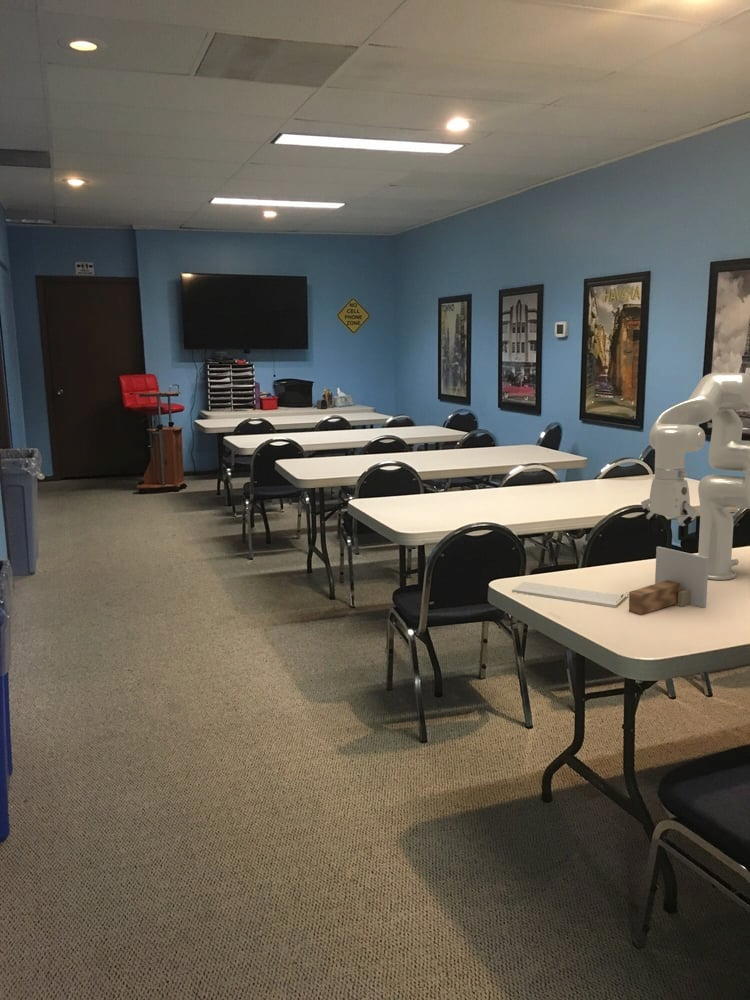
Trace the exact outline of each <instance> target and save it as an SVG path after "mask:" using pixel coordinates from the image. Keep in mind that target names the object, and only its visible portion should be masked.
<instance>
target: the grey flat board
mask: <svg viewBox="0 0 750 1000" xmlns="http://www.w3.org/2000/svg"><path fill="white" fill-rule="evenodd" d="M514 592H517V593H516V594H520V593H523V594H522V595H527V594H528V596H533V595H534V596H535V597H541V598H548V599H553V600H561V601H567V602H573V603H581V604H588V605H595V606H602V607H605V608H606V607H608V608H612V609H613V608H614V609H617V608H618V607H619V606H620V605H621V604H622V603H623V602H625V600H627V599H626V598H628V599H629V593H626V595H625V594H624V593H622V594H621V595H620V594H613V593H608V592H607V593H606V592H599V591H593V590H586V589H585V590H584V589H579V588H573V587H565V586H557V585H550V584H543V583H538V582H537V583H535V582H530V581H523V582H522V583H520V584H518V585H517V586H516V587H514V588H512V589H511V593H514Z"/></svg>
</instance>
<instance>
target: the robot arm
mask: <svg viewBox="0 0 750 1000" xmlns="http://www.w3.org/2000/svg"><path fill="white" fill-rule="evenodd" d="M735 410H747V411H748V410H749V411H750V374H748V373H744V372H712V373H708V374H706V375H704V376H703V377H702V378H701V379H700V381H699V382H698V383H697V385H696V387H695V388H694V390H693V391H692V393H691V394H690V396H689V397H688V399H687V400H685V401H682V402H680V403H678V404H676V405H674V406H671V407H670V408H668V409H666V410H665V411H663V412H662V413H661V414H660V415H659V416H658V417H657V419H656V421H655V422H654V423H653V425H652V426H651V429H650V432H649V436H648V441H649V445H650V446H651V448H652V449H653V450H654V452H655V453H654V456H655V457H654V477H653V478H652V481H651V486H650V491H649V498H647V499H645V500H643V501H641V502H640V504H641V507H642V509H643V512H644V514H645V517H646V519H647V520H648V522H647V523H648V524H647V525H648V526H647V528H648V530H647V531H648V532H647V533H648V534H650V535H651V534H655V533H658V531H659V518H658V517H657V516H664V517H668V518H674V519H675V518H676V520H677V521H678V523H679V524H680V525H678V530H677V540H678V541H684V540H687V539H688V537H689V525H691V524H692V523H693V522H694V521H695V519H696V516H698V513H700V514H699V534H698V536H699V537H698V553H697V555H699V556H704V557H708V558H709V562H708V580H713V581H725V580H726V581H727V580H728V581H729V580H732V579H735V578H736V576H737V572H736V571H735V570H733V569H732V568H733V567H734V566H737V565H739V563H740V562H739V560H738V559H737V558H736V559H732V556H733V555H732V553H733V540H734V539H733V537H734V523H735V522H734V518H733V515H732V514H731V512H730V510H729V509H728V508H737V509H750V440H742V435H743V428H744V424H743V421H742V420H741V417H740V416H739V414H737V412H736V411H735ZM709 421H711V422H712V428H711V434H710V435H711V436H710V443H709V450H708V465H709V466H710V468H712V469H713V470H717V471H724V472H734V473H735V472H736V473H744V476H739V475H730V474H729V475H728V474H718V473H717V474H715V473H714V474H708V475H706V476H703V477H702V478H701V479H700V480H699V482H698V486H697V491H698V498H699V499H698V500H699V511H698V510H697V509H696V508H695V507H693V506H692V505H691V500H690V499H691V498H690V488H689V483H688V480H687V479H685V478H688V475H689V473H688V472H686V470H685V469H686V466H685V465H686V453H687V454H688V453H690V454H693V453H696V452H698V451H700V450H701V449H703V447H704V445H705V443H706V434H705V430H704V429H703V428H702V427H700V426H699V425H701V424H703V423H707V422H709Z"/></svg>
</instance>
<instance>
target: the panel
mask: <svg viewBox="0 0 750 1000" xmlns="http://www.w3.org/2000/svg"><path fill="white" fill-rule="evenodd" d="M655 551H656V552H655V553H656V554H655V574H654V575H655V577H654V584H656V583H660V582H663V581H666V580H670V581H674V582H677V583H680V592H678V603H676V604H673V606H676V607H680V608H681V607H682V608H683V607H685V606H689V605H690V606H691V605H692V606H694V607H699V608H702V609H704V608H707V599H708V598H707V597H708V581H709V579H708V562H709V558H708V557H704V556H699V555H698V554H694V553H689V552H684V551H680V550H675V549H672V548H667V547H662V546H656V548H655Z"/></svg>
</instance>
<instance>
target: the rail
mask: <svg viewBox="0 0 750 1000" xmlns="http://www.w3.org/2000/svg"><path fill="white" fill-rule="evenodd" d="M678 592H680V583H677V582H674V581H670V580H666V581H663V582H660V583H656V584H655V583H654V584H650V585H647V586H643V587H641V588H638V589H635V590H631V591H629V592H628V612H630V613H631V614H632V613H633V614H636V615H640V616H642V615H647V614H649V613H651V612H652V613H653V612H654V611H657V610H661V609H663V608H666V607H669V606H672V605H673V604H676V603H678ZM673 606H674V605H673Z"/></svg>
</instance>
